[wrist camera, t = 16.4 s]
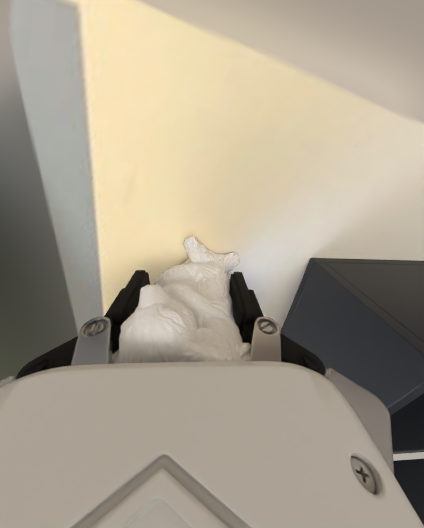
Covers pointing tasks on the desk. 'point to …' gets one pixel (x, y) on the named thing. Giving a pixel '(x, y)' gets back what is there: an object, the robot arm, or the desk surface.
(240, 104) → the desk surface
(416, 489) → the lid
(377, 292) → the hinged keepsake box
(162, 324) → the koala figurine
